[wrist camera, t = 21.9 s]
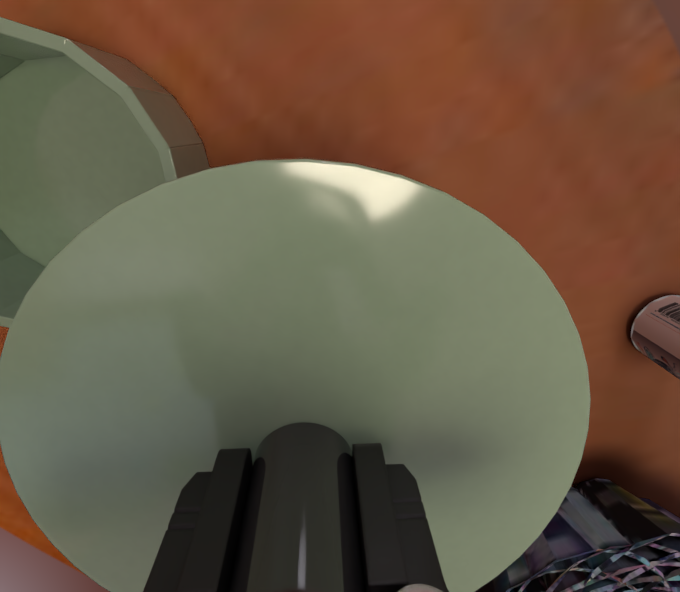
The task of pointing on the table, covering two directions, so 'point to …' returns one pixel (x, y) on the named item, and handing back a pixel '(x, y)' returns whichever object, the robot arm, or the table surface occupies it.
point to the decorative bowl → (599, 546)
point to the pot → (75, 146)
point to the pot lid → (292, 374)
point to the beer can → (659, 332)
